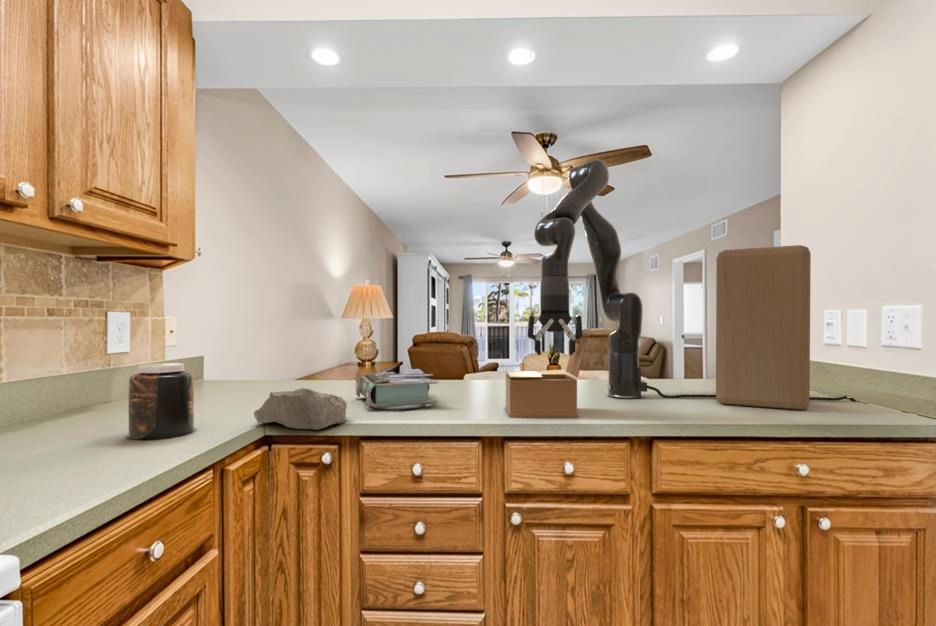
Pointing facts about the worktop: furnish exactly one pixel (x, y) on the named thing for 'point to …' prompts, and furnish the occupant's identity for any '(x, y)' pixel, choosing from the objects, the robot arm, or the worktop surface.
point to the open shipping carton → (540, 394)
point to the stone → (302, 409)
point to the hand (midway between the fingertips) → (554, 354)
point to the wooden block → (763, 327)
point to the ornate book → (396, 389)
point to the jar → (161, 401)
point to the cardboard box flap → (576, 360)
